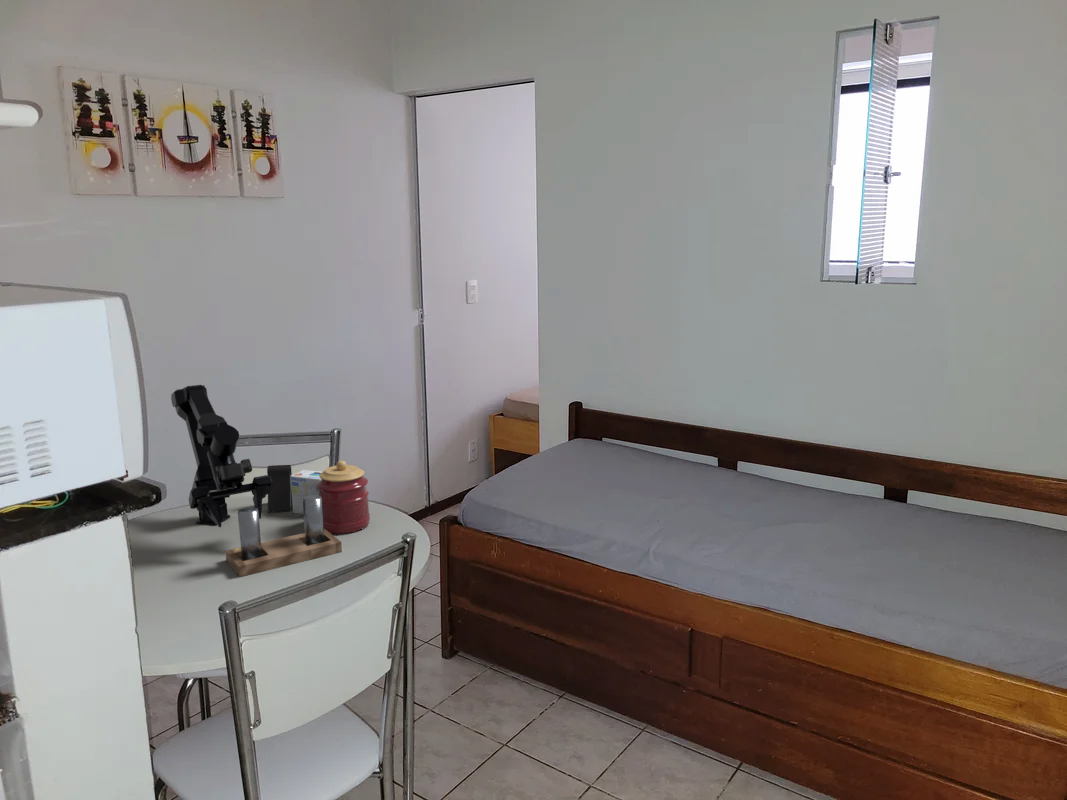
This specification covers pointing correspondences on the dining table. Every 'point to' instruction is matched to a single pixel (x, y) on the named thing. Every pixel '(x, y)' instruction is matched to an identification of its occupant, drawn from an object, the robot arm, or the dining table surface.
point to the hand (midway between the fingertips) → (240, 522)
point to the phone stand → (280, 488)
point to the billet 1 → (249, 533)
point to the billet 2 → (313, 519)
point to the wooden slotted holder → (282, 553)
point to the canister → (344, 498)
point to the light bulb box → (303, 487)
